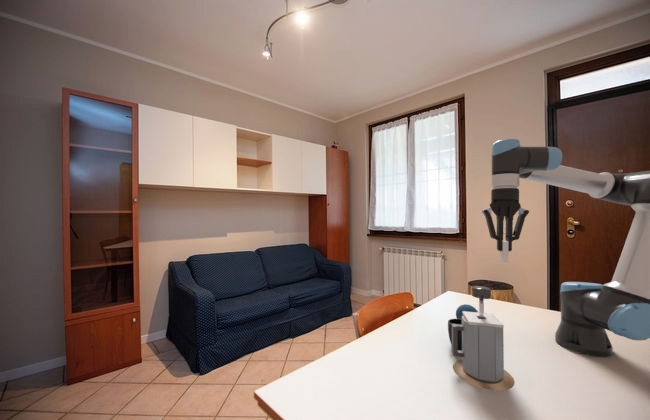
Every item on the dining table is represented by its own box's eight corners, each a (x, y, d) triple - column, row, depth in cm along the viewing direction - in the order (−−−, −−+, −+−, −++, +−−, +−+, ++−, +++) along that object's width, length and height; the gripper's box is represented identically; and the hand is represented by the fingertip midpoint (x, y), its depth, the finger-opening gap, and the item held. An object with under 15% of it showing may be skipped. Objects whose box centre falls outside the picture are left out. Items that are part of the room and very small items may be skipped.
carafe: (495, 366, 85) (495, 313, 85) (507, 386, 75) (507, 326, 76) (449, 360, 89) (449, 309, 89) (455, 378, 79) (455, 321, 79)
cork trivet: (502, 364, 87) (502, 362, 87) (524, 397, 72) (524, 395, 72) (448, 357, 92) (448, 355, 92) (458, 386, 76) (458, 384, 76)
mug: (489, 353, 94) (488, 325, 94) (458, 356, 92) (458, 328, 92) (471, 342, 102) (471, 316, 102) (443, 345, 100) (443, 319, 100)
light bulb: (480, 333, 109) (480, 303, 109) (479, 342, 102) (478, 310, 102) (457, 329, 114) (457, 300, 114) (454, 336, 107) (454, 306, 107)
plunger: (491, 324, 84) (491, 285, 85) (500, 335, 77) (500, 292, 77) (464, 322, 86) (464, 284, 87) (470, 332, 79) (470, 290, 79)
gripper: (523, 189, 90) (522, 260, 89) (479, 189, 93) (478, 258, 93) (533, 187, 82) (533, 264, 82) (485, 187, 86) (484, 261, 86)
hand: (504, 261), depth 88 cm, fingers closed
